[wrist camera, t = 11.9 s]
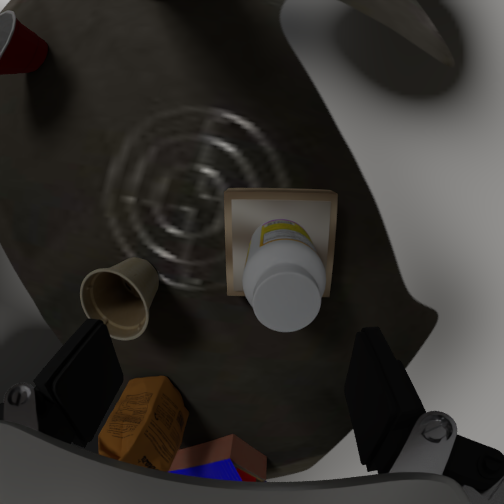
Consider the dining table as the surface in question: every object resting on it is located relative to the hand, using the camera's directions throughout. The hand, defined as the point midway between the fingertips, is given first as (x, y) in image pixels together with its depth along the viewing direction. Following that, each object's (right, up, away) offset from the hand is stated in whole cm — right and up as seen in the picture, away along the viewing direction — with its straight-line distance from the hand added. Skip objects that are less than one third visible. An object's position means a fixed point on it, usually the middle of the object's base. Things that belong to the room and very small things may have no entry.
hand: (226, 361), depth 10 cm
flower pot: (-15, 0, +29) cm, 32 cm away
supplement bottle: (+4, +5, +22) cm, 23 cm away
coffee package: (-16, -22, +37) cm, 46 cm away
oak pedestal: (+4, +6, +26) cm, 27 cm away
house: (-7, -41, +43) cm, 60 cm away
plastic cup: (-34, +36, +18) cm, 52 cm away
